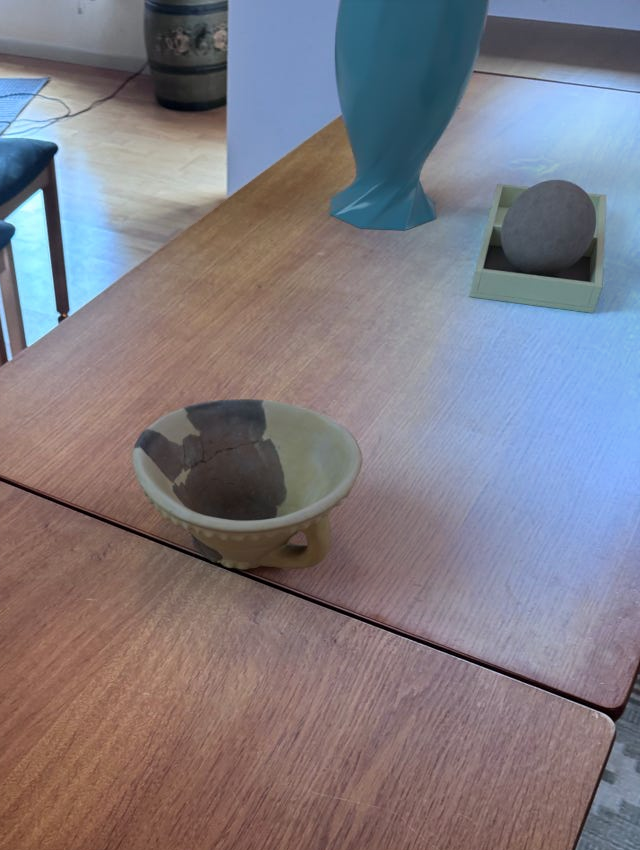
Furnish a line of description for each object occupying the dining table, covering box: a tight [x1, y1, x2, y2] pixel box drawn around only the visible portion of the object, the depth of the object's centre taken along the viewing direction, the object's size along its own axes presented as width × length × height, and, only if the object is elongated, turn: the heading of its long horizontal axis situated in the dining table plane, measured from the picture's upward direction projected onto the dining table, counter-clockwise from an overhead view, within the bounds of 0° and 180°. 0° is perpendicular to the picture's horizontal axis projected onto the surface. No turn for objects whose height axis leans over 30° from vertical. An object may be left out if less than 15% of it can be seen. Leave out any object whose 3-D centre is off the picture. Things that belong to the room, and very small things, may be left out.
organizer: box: [468, 183, 607, 314], centre depth 111 cm, size 14×26×3 cm, turn 161°
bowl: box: [131, 398, 364, 570], centre depth 73 cm, size 18×18×10 cm
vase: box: [328, 0, 490, 231], centre depth 112 cm, size 17×17×30 cm
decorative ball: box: [501, 179, 596, 276], centre depth 103 cm, size 10×10×10 cm
